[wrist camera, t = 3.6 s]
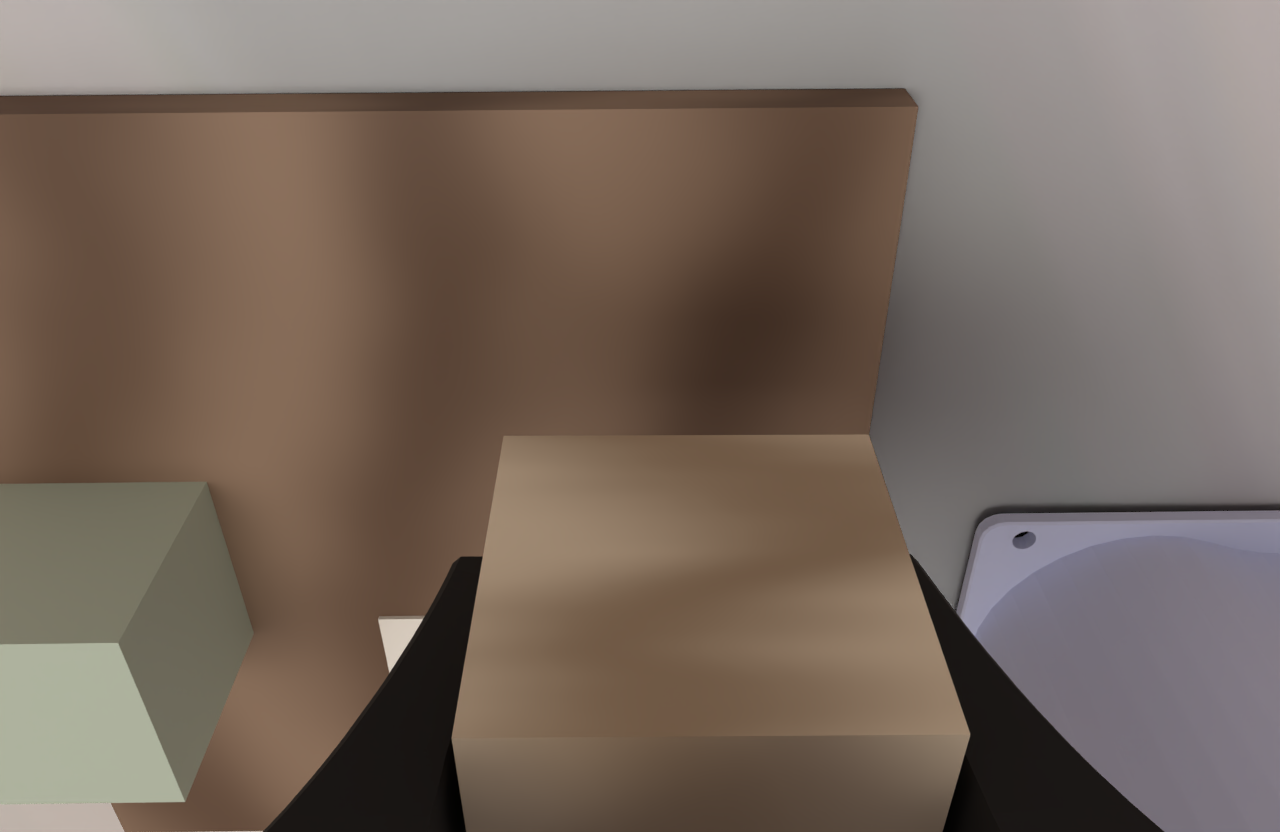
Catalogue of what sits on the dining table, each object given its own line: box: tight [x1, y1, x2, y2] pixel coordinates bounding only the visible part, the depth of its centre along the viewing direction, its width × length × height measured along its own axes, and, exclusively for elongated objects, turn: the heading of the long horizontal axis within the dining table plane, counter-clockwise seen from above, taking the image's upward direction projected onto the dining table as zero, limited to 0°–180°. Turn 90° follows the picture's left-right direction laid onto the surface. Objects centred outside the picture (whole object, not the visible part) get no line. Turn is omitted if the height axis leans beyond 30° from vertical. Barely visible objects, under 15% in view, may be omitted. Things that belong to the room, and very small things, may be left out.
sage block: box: [0, 482, 254, 804], centre depth 21 cm, size 4×4×4 cm
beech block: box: [452, 435, 970, 832], centre depth 12 cm, size 4×4×4 cm
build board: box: [0, 89, 918, 832], centre depth 23 cm, size 19×20×1 cm
